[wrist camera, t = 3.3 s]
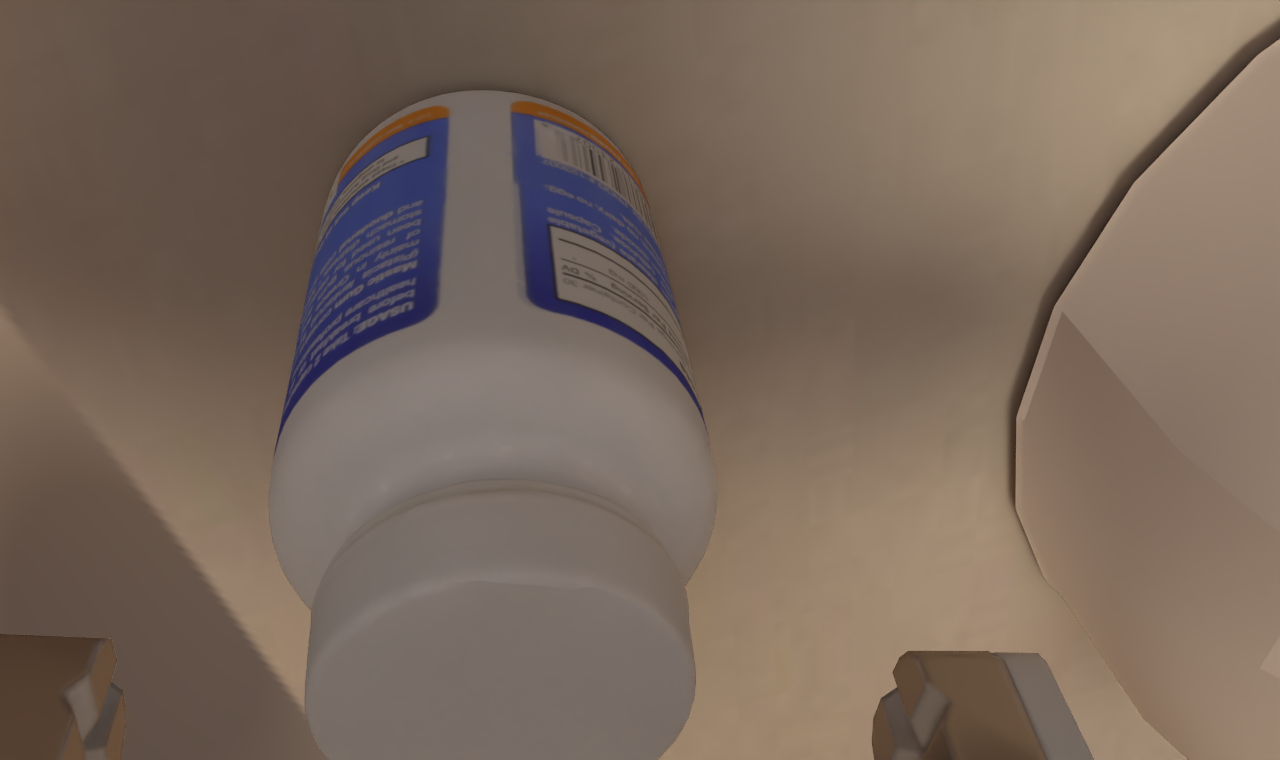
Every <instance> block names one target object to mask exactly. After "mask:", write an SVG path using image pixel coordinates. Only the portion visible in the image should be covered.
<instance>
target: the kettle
mask: <svg viewBox="0 0 1280 760" xmlns="http://www.w3.org/2000/svg"><path fill="white" fill-rule="evenodd" d="M1016 511H1017V513H1018V516H1019V518H1020V521H1021V523H1022V526H1023V528H1024V531H1025V533H1026V535H1027V538H1028V540H1029V543H1030V545H1031V548H1032V550H1033V552H1034V555H1035V557H1036V560H1037V562H1038V565H1039V567H1040V569H1041V572H1042V574H1043V577H1044V579H1045V580H1046V581H1047V582H1048V583H1049V584H1050V585H1051V586H1052V587H1053V588H1054V589H1055V590H1056V591H1057V592H1058V593H1059V594H1060V595H1061V596H1062V598H1063V599H1064V601H1065V602H1066V604H1067V605H1068V607H1069V608H1070V610H1071V611H1072V613H1073V614H1074V616H1075V617H1076V619H1077V620H1078V622H1079V623H1080V625H1081V626H1082V628H1083V629H1084V631H1085V632H1086V634H1087V635H1088V637H1089V638H1090V640H1091V641H1092V643H1093V644H1094V646H1095V647H1096V648H1097V650H1098V651H1099V653H1100V654H1101V656H1102V657H1103V659H1104V660H1105V662H1106V663H1107V665H1108V666H1109V668H1110V669H1111V671H1112V672H1113V674H1114V675H1115V677H1116V678H1117V680H1118V681H1119V683H1120V684H1121V686H1122V687H1123V689H1124V690H1125V692H1126V693H1127V695H1128V696H1129V698H1130V699H1131V701H1132V702H1133V704H1134V705H1135V707H1136V708H1137V710H1138V711H1139V713H1140V714H1141V716H1142V717H1143V719H1144V720H1145V721H1146V722H1148V723H1149V724H1150V725H1151V726H1152V727H1153V728H1154V729H1155V730H1156V731H1157V732H1159V733H1160V734H1161V735H1162V736H1163V737H1164V738H1165V739H1166V740H1167V741H1168V742H1170V743H1171V744H1172V745H1173V746H1174V747H1175V748H1176V749H1177V750H1178V751H1179V752H1181V753H1182V754H1183V755H1184V756H1185V757H1186V758H1187V759H1188V760H1280V39H1279V40H1278V41H1276V42H1275V43H1273V44H1272V45H1271V46H1269V47H1268V48H1266V49H1265V50H1264V51H1262V52H1261V53H1260V54H1258V55H1257V56H1256V57H1255V58H1254V59H1253V60H1252V61H1251V62H1250V63H1249V64H1248V65H1247V66H1246V67H1245V69H1244V70H1243V71H1242V72H1241V73H1240V74H1239V75H1238V76H1237V77H1236V78H1235V79H1234V80H1233V81H1232V82H1231V83H1230V84H1229V85H1228V86H1227V87H1226V88H1225V89H1224V90H1223V91H1222V92H1221V93H1220V94H1219V95H1218V96H1217V97H1216V98H1215V99H1214V100H1213V102H1212V103H1211V104H1210V105H1209V106H1208V107H1207V108H1206V109H1205V110H1204V111H1203V112H1202V113H1201V114H1200V115H1199V116H1198V117H1197V118H1196V119H1195V120H1194V121H1193V122H1192V123H1191V124H1190V125H1189V126H1188V127H1187V128H1186V129H1185V130H1184V131H1183V132H1182V134H1181V135H1180V136H1179V137H1178V138H1177V139H1176V140H1175V141H1174V142H1173V143H1172V144H1171V145H1170V146H1169V147H1168V148H1167V149H1166V150H1165V151H1164V152H1163V153H1162V154H1161V155H1160V156H1159V157H1158V158H1157V159H1156V160H1155V161H1154V162H1153V163H1152V164H1151V165H1150V167H1149V168H1148V169H1147V170H1146V171H1145V172H1144V173H1143V174H1142V175H1141V176H1140V177H1139V178H1138V179H1137V180H1136V181H1135V182H1134V183H1133V185H1132V186H1131V188H1130V190H1129V191H1128V193H1127V194H1126V196H1125V197H1124V199H1123V200H1122V202H1121V204H1120V205H1119V207H1118V208H1117V210H1116V211H1115V213H1114V214H1113V216H1112V217H1111V219H1110V221H1109V222H1108V224H1107V225H1106V227H1105V228H1104V230H1103V231H1102V233H1101V235H1100V236H1099V238H1098V239H1097V241H1096V242H1095V244H1094V245H1093V247H1092V249H1091V250H1090V252H1089V253H1088V255H1087V256H1086V258H1085V259H1084V261H1083V262H1082V264H1081V266H1080V267H1079V269H1078V270H1077V272H1076V273H1075V275H1074V276H1073V278H1072V280H1071V281H1070V283H1069V284H1068V286H1067V287H1066V289H1065V290H1064V292H1063V294H1062V295H1061V297H1060V298H1059V300H1058V301H1057V303H1056V304H1055V306H1054V308H1053V311H1052V314H1051V317H1050V320H1049V323H1048V326H1047V329H1046V332H1045V335H1044V338H1043V341H1042V344H1041V346H1040V349H1039V352H1038V355H1037V358H1036V361H1035V364H1034V367H1033V370H1032V373H1031V376H1030V379H1029V382H1028V385H1027V388H1026V390H1025V393H1024V396H1023V399H1022V402H1021V405H1020V408H1019V411H1018V414H1017V417H1016Z"/></svg>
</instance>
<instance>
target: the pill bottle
mask: <svg viewBox="0 0 1280 760" xmlns="http://www.w3.org/2000/svg"><path fill="white" fill-rule="evenodd" d="M716 499H717V487H716V474H715V469H714V463H713V458H712V453H711V449H710V443H709V438H708V434H707V430H706V426H705V422H704V418H703V413H702V408H701V405H700V401H699V397H698V394H697V390H696V385H695V381H694V377H693V373H692V369H691V365H690V360H689V356H688V353H687V349H686V345H685V341H684V337H683V333H682V329H681V325H680V321H679V318H678V314H677V310H676V306H675V302H674V298H673V294H672V290H671V286H670V282H669V278H668V274H667V270H666V266H665V262H664V258H663V254H662V250H661V247H660V243H659V240H658V236H657V232H656V229H655V225H654V221H653V218H652V214H651V211H650V207H649V204H648V201H647V199H646V196H645V194H644V191H643V189H642V186H641V184H640V181H639V179H638V177H637V175H636V174H635V172H634V170H633V169H632V167H631V166H630V164H629V162H628V161H627V160H626V158H625V157H624V155H623V154H622V153H621V151H620V150H619V149H618V148H617V147H616V146H615V145H614V144H613V143H612V141H611V140H610V139H609V138H607V137H606V136H605V135H604V134H603V133H602V132H601V131H600V130H598V129H597V128H596V127H595V126H593V125H592V124H591V123H589V122H588V121H586V120H585V119H583V118H582V117H580V116H578V115H577V114H575V113H573V112H571V111H569V110H567V109H565V108H563V107H560V106H558V105H556V104H553V103H551V102H548V101H546V100H543V99H539V98H535V97H532V96H528V95H524V94H518V93H512V92H504V91H495V90H476V91H461V92H453V93H448V94H443V95H439V96H435V97H432V98H429V99H425V100H422V101H420V102H417V103H415V104H413V105H410V106H408V107H406V108H404V109H402V110H401V111H399V112H397V113H395V114H394V115H392V116H391V117H389V118H387V119H386V120H384V121H383V122H382V123H381V124H379V125H378V126H377V127H375V128H374V129H373V130H372V131H371V132H370V133H369V134H368V135H367V136H366V137H365V138H364V139H363V140H362V141H361V142H360V143H359V144H358V145H357V146H356V147H355V149H354V150H353V151H352V152H351V154H350V155H349V157H348V158H347V160H346V161H345V163H344V165H343V166H342V168H341V170H340V171H339V173H338V174H337V177H336V179H335V182H334V184H333V186H332V189H331V191H330V194H329V197H328V200H327V202H326V206H325V210H324V214H323V218H322V222H321V226H320V231H319V235H318V241H317V246H316V250H315V255H314V260H313V264H312V269H311V274H310V279H309V285H308V290H307V295H306V300H305V305H304V309H303V314H302V319H301V324H300V329H299V334H298V339H297V345H296V350H295V355H294V361H293V365H292V370H291V375H290V380H289V385H288V390H287V395H286V400H285V404H284V409H283V414H282V419H281V424H280V429H279V433H278V438H277V443H276V447H275V453H274V459H273V466H272V473H271V481H270V488H269V521H270V528H271V534H272V540H273V544H274V547H275V550H276V553H277V557H278V559H279V562H280V564H281V567H282V569H283V571H284V573H285V575H286V577H287V579H288V581H289V582H290V584H291V585H292V587H293V588H294V589H295V591H296V592H297V594H298V595H299V597H300V598H301V600H302V601H303V602H304V603H305V604H306V605H307V607H308V608H309V609H310V610H311V611H312V612H311V628H310V637H309V647H308V657H307V669H306V681H305V711H306V716H307V721H308V724H309V727H310V730H311V732H312V735H313V736H314V739H315V741H316V743H317V745H318V746H319V748H320V749H321V751H322V752H323V753H324V755H325V756H326V757H327V758H328V759H329V760H658V759H659V758H660V757H661V756H662V755H663V753H664V752H665V751H666V750H667V749H668V748H669V747H670V746H671V745H672V744H673V742H674V741H675V740H676V738H677V737H678V735H679V733H680V732H681V730H682V729H683V727H684V725H685V723H686V721H687V719H688V717H689V714H690V711H691V707H692V704H693V701H694V696H695V686H696V671H695V662H694V655H693V648H692V641H691V634H690V627H689V606H688V599H687V593H686V589H685V586H686V584H687V583H688V581H689V580H690V578H691V576H692V575H693V573H694V571H695V570H696V568H697V566H698V564H699V563H700V561H701V559H702V557H703V556H704V553H705V551H706V548H707V545H708V542H709V539H710V536H711V533H712V529H713V525H714V519H715V512H716Z"/></svg>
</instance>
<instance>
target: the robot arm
mask: <svg viewBox="0 0 1280 760" xmlns="http://www.w3.org/2000/svg"><path fill="white" fill-rule="evenodd" d="M116 663H117V658H116V654H115V650H114V646H113V641H112V639H107V638H86V637H63V636H40V635H16V634H0V760H121V755H122V749H123V743H124V735H125V728H126V715H125V714H126V713H125V701H124V695H123V690H122V689H120V688H119V687H118V686H117V685H115V684H114V683H113V682H111V679H112V676H113V673H114V669H115V666H116ZM893 675H894V678H895V681H896V684H897V688H895V689H894V690H892V691H891V692H889V693H888V694H886V695H885V696H884V697H882V698H881V700H880V702H879V705H878V708H877V710H876V713H875V715H874V718H873V732H872V747H873V754H874V760H1094V758H1093V756H1092V754H1091V752H1090V750H1089V748H1088V746H1087V744H1086V742H1085V740H1084V738H1083V736H1082V734H1081V732H1080V730H1079V728H1078V726H1077V723H1076V721H1075V719H1074V717H1073V715H1072V713H1071V711H1070V709H1069V707H1068V705H1067V703H1066V701H1065V699H1064V697H1063V695H1062V693H1061V691H1060V688H1059V686H1058V684H1057V682H1056V680H1055V678H1054V676H1053V674H1052V672H1051V670H1050V668H1049V666H1048V664H1047V662H1046V661H1045V660H1044V659H1043V658H1042V657H1041V656H1040V655H1039V654H1038V653H1002V652H995V653H991V652H989V651H907V652H906V653H905V654H903V655H902V656H901V657H899V660H898V662H897V664H896V666H895V668H894V670H893Z"/></svg>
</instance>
